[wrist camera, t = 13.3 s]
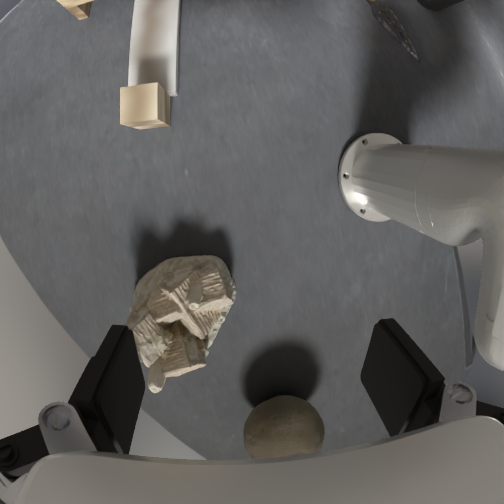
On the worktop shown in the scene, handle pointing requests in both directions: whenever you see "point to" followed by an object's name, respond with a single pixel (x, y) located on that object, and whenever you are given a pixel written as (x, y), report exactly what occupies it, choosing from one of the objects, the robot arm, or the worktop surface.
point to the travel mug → (437, 3)
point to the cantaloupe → (283, 428)
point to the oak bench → (77, 7)
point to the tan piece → (152, 64)
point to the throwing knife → (391, 24)
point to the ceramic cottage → (179, 314)
